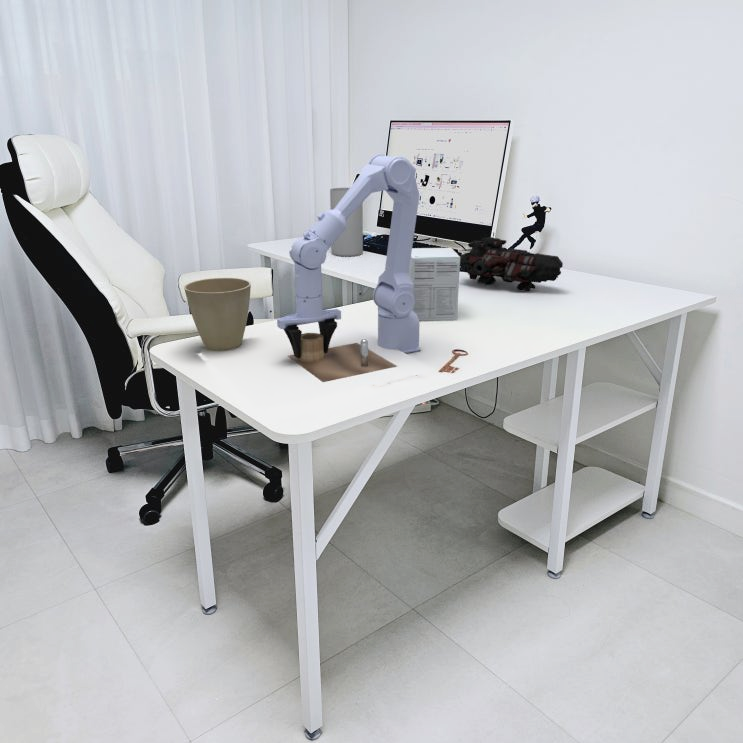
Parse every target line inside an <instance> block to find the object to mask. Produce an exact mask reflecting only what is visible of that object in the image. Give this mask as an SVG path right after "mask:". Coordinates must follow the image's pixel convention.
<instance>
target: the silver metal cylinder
mask: <svg viewBox="0 0 743 743" xmlns="http://www.w3.org/2000/svg"><path fill="white" fill-rule="evenodd" d="M360 345H361V366H362V367H367V366H368V349H369V342H368V340H367V339H365V338H362V339H361V340H360Z"/></svg>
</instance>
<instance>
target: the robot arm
mask: <svg viewBox="0 0 743 743" xmlns="http://www.w3.org/2000/svg"><path fill="white" fill-rule="evenodd" d="M416 170H417V169H416V168H415V167H414V165H413V163H411V162H410V161H409V160H408V159H407V158H406V157H403V156H390V155H385V154H376V155H373V157H372V158H370V160H369V162H368V163H366V164H365V165H364V166H363V167H362V169H361V171H360V173H359V175H358V177H356V179H355V181H353V183H352V185H351V186H350V187H349V188H350V189H349V190H348V191H347V193H346V194H345V195H344V197H343V198H342V199H341V200H340V202H339V203H338V204H337V206H336V207H335V208H334V209H333V210H330V209H326V210H324V211H323V212H319V213H318V214H317V215H316V217H317V219H316V221H315V222H314V223H313V224H312V226H311V227H310V228H309V229H308V230H307V231H306V230H305V231H304V232H303V234H302V235H303V237H301V238H298V239H296V240H295V241H294V242H293V243H292V246H291V249H290V250H289V252H288V253H289V257H290V259H291V260H292V262H293V263H294V286H295V313H292V314H289V315H285V316H283V317H282V316H281V317H278V318H276V321H277V322H276V324H277V328H279V329H280V330H283V331H284V333H285V334H286V336H287V339H288V340H289V343H290V345H291V349H292V352H293V355H294V356H295V357H296V358H301V347H300V342H301V334H303V331H302V330H301V329H299V326H302V325H308V324H316V323H318V329H319V334H321V335H323V345H324V353H328V348H330V342H331V340H332V337H333V335H334V333H335V330H336V329H337V328H338V322H337V321H335V320H342V311H341V310H340V309H338V308H334V309H333V308H332V309H323V278H322V276H323V275H322V265H323V264H324V263H325V261H326V260H327V252H328V251H329V250H330V249H331V246H332V245H333V243H334V242H335V241H336V240H337V239H338V237H339V236H340V235H341V234H342V233H343V232H344V230H345V229H346V219H347V218H348V217H349V216H350V215H351V214H352V213H353V212H354V211H355V210H356V209H357V208H358V207H359V206H360V205H361V204H362V203H363V204H364V202H365V200H367V199H368V197H369V196H370V195H372V194H373V193H378V192H384V191H385V192H386V193H387V195H388V196H389V197H390V198H391V199H392V201H393V206H392V214H391V221H390V222H391V223H390V227H389V228H390V229H389V235H388V244H387V250H386V251H387V252H386V259H385V268H384V271H383V272H382V273H380V275H379V276H378V279H377V280H378V282H377V284H376V287H375V288H374V290H373V292H372V299H373V303H374V304H375V305H376V306H377V346H378V347H380V348H382V349H386V350H387V349H388V350H398V351H400V352H402V353H404V354H408V353H409V354H410V353H413V352H418V351H421V347H420V326H421V325H420V321H419V319H418V316H417V315H416V313H415V312H413V311H412V310H413V308H414V305H415V298H414V295H413V287H414V285H413V283H412V281H411V279H410V277H409V274H408V273H409V266H410V259H411V252H412V248H413V244H414V237H415V236H414V235H415V231H416V229H415V228H416V224H417V223H416V222H417V216H418V209H419V202H420V191H419V189H418V188H419V187H418V183H417V180H416Z"/></svg>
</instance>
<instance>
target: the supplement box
mask: <svg viewBox="0 0 743 743" xmlns="http://www.w3.org/2000/svg"><path fill="white" fill-rule="evenodd" d="M460 257H461V255H459V254H458V253H457V252H456V251H455V250H454V249H453V248H452V247H421V248H420V247H417V248H416V247H415V248H413V247H412V252H411V259H410V266H409V273H408V274H409V277H410V279H411V281H412V283H413V285H414V287H413V295H414V298H415V305H414V308H413V310H412V311H413V312H415V313H416V315H417V316H418V319H419V322H423V321H424V322H425V321H427V322H428V321H429V322H430V321H431V322H433V321H438V322H439V321H458V305H459V291H460V290H459V288H460V286H459V284H460V270H461V269H460V268H461V267H460Z"/></svg>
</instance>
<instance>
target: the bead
mask: <svg viewBox="0 0 743 743" xmlns="http://www.w3.org/2000/svg"><path fill="white" fill-rule="evenodd" d="M300 347H301V358H298V359H299V360H300V361H302V362H318V361H321V360H323V359H324V345H323V335H321V334H320V333H318V332H306V333H305V332H304V333H302V334H301V342H300Z"/></svg>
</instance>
